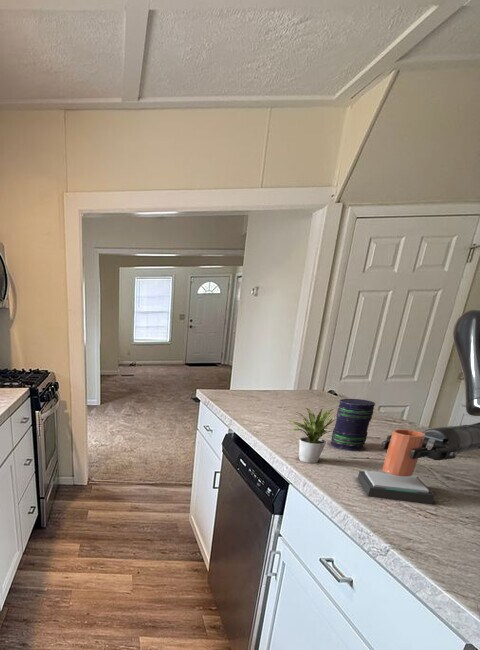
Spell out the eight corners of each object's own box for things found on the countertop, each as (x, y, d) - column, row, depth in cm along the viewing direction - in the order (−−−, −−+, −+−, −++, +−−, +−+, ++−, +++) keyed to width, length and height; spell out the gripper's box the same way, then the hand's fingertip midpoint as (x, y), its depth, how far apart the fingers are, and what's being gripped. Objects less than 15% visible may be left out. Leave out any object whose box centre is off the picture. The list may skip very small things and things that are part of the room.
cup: (408, 468, 100) (420, 430, 97) (416, 477, 95) (429, 437, 91) (379, 466, 103) (390, 428, 99) (385, 474, 97) (397, 435, 93)
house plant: (298, 448, 132) (308, 399, 126) (342, 459, 122) (355, 406, 115) (274, 457, 124) (284, 405, 118) (320, 470, 114) (333, 413, 107)
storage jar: (351, 441, 139) (361, 398, 133) (371, 450, 130) (383, 404, 124) (323, 442, 138) (332, 399, 132) (341, 451, 129) (352, 405, 123)
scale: (415, 484, 104) (418, 474, 102) (432, 504, 93) (436, 493, 92) (357, 478, 108) (359, 468, 107) (367, 496, 97) (370, 485, 96)
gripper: (418, 420, 106) (373, 427, 100) (482, 435, 93) (434, 443, 88) (410, 447, 109) (365, 455, 103) (471, 465, 96) (424, 475, 91)
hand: (397, 449), depth 96 cm, fingers closed on cup, 6 cm apart
